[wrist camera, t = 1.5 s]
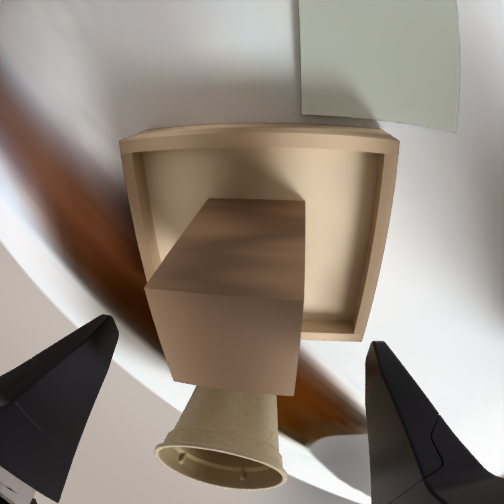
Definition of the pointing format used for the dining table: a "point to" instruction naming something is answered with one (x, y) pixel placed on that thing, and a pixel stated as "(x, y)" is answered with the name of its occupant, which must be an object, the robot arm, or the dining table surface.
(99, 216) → the dining table surface
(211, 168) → the oak box
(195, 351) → the walnut block
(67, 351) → the robot arm
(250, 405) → the flower pot
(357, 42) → the pad
